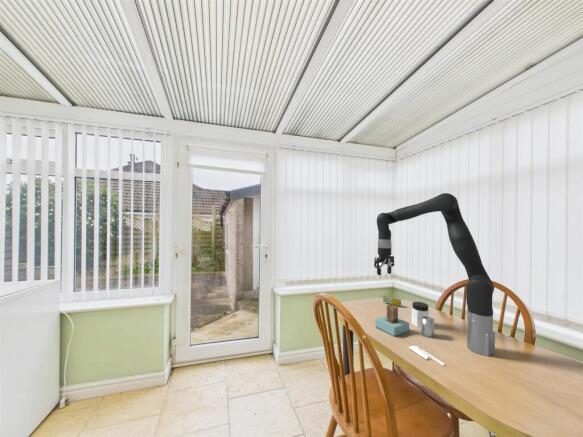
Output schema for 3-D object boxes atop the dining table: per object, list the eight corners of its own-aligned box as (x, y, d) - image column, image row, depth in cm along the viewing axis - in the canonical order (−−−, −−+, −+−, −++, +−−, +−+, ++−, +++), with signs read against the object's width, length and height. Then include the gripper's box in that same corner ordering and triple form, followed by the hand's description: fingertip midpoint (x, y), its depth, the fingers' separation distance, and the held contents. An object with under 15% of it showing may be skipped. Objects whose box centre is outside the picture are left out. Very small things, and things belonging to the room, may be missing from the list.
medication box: (383, 302, 173) (382, 296, 173) (384, 300, 175) (384, 295, 175) (400, 306, 165) (399, 300, 164) (401, 305, 166) (401, 299, 166)
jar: (425, 329, 130) (425, 308, 130) (409, 324, 136) (410, 304, 136) (430, 324, 136) (430, 304, 136) (415, 320, 142) (415, 300, 142)
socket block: (409, 332, 127) (409, 322, 127) (394, 337, 121) (394, 327, 121) (390, 323, 138) (390, 314, 138) (375, 327, 132) (375, 318, 132)
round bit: (436, 337, 122) (436, 319, 122) (429, 339, 119) (429, 322, 119) (425, 332, 127) (425, 315, 127) (418, 334, 124) (419, 317, 124)
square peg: (397, 328, 129) (398, 306, 129) (392, 330, 127) (393, 308, 127) (391, 325, 132) (391, 304, 132) (386, 327, 130) (386, 305, 130)
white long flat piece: (436, 366, 96) (437, 363, 96) (408, 348, 110) (408, 345, 110) (446, 366, 97) (446, 363, 97) (416, 348, 111) (417, 345, 111)
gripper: (381, 248, 132) (380, 277, 132) (398, 246, 139) (397, 274, 139) (370, 246, 139) (370, 274, 139) (387, 245, 146) (387, 271, 146)
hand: (384, 274), depth 139 cm, fingers open, 8 cm apart
